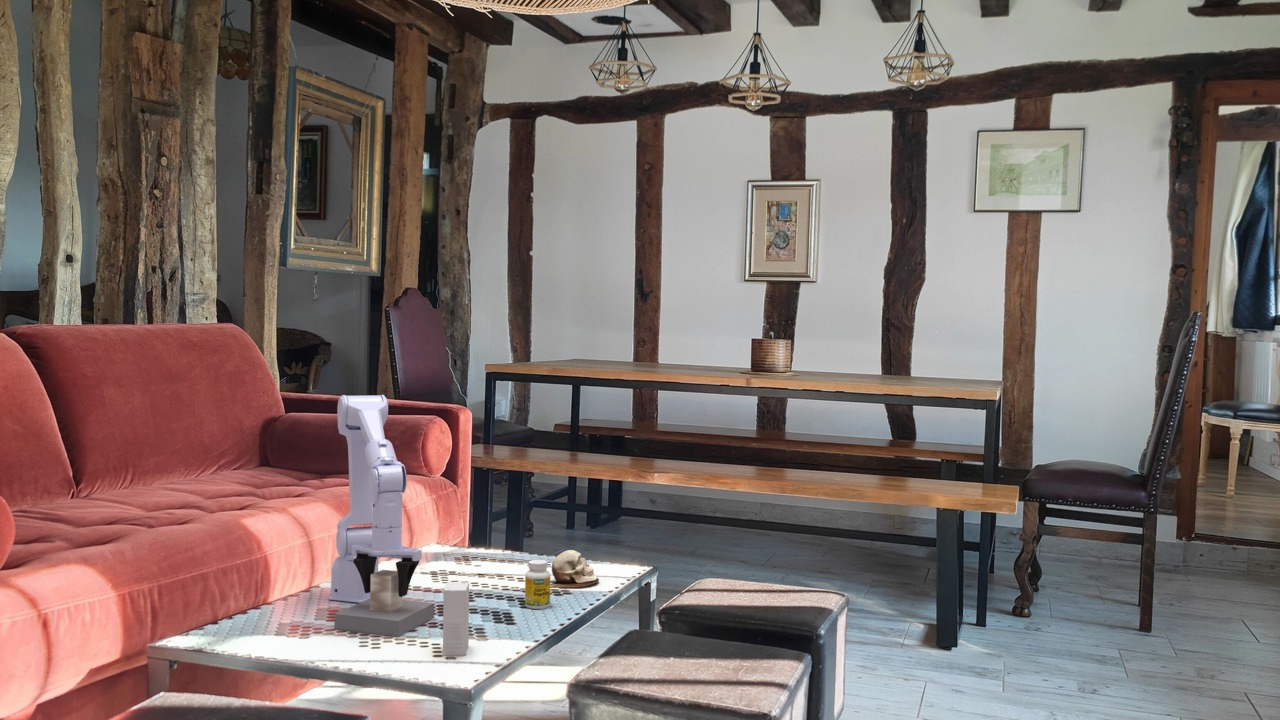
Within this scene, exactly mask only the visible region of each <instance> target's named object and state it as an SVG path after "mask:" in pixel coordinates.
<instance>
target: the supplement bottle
mask: <svg viewBox="0 0 1280 720" xmlns="http://www.w3.org/2000/svg"><path fill="white" fill-rule="evenodd" d="M527 567H528V569H529V570H527V571H526V573H525V575H524V576H525V577H524V580H525V581H524V584H525V587H524V588H525V590H524V594H525V595H524V605H525V607H526V608H527V609H531V610H542V609H547V608H549V607H550V605H551V573H550V571H548V570H547V569H548V561H547V560H544V559H532V560H529V561H528V566H527Z"/></svg>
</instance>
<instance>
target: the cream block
mask: <svg viewBox="0 0 1280 720" xmlns="http://www.w3.org/2000/svg"><path fill="white" fill-rule="evenodd" d="M402 600H403V597H399V593H398V572H397V570H388V569H381V570H378V572H376V573H373V574H371V586H370V610H376V611H385V612H392V611H394V610H396V609H398V608H400V607H402Z"/></svg>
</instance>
